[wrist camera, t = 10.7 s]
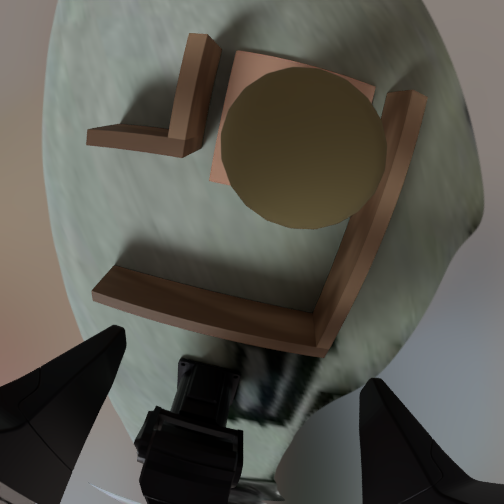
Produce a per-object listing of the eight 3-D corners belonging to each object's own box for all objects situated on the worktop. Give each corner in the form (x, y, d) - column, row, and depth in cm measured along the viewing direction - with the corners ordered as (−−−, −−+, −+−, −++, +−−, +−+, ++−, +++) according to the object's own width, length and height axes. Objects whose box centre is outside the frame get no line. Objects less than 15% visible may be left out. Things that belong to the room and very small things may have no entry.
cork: (236, 168, 18) (184, 239, 8) (251, 77, 15) (211, 28, 6) (327, 185, 18) (380, 275, 8) (346, 97, 15) (434, 83, 5)
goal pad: (338, 210, 19) (339, 212, 19) (210, 179, 19) (209, 180, 19) (373, 87, 15) (375, 87, 15) (237, 51, 15) (236, 50, 14)
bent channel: (319, 324, 24) (324, 358, 20) (114, 274, 23) (92, 300, 20) (400, 98, 15) (427, 97, 11) (133, 45, 15) (103, 35, 11)
